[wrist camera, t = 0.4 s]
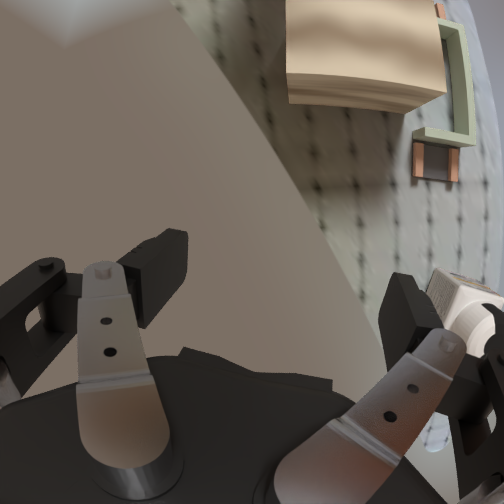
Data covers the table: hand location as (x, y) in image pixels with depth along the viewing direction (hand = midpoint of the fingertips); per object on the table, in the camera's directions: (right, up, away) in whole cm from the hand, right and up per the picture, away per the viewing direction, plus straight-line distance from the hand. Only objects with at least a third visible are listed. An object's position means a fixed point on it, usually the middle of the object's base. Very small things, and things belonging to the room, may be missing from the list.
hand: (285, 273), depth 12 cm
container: (+25, -6, +25) cm, 36 cm away
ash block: (+10, +22, +20) cm, 32 cm away
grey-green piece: (+21, +22, +19) cm, 36 cm away
